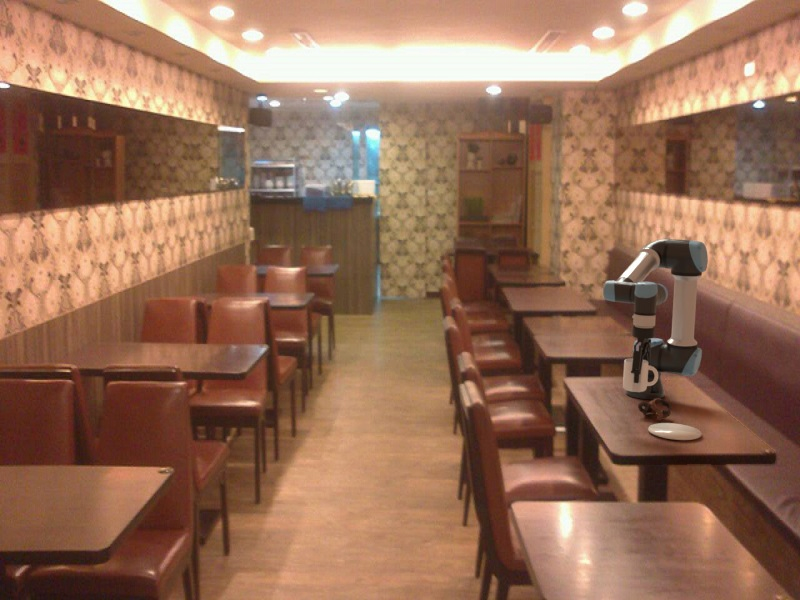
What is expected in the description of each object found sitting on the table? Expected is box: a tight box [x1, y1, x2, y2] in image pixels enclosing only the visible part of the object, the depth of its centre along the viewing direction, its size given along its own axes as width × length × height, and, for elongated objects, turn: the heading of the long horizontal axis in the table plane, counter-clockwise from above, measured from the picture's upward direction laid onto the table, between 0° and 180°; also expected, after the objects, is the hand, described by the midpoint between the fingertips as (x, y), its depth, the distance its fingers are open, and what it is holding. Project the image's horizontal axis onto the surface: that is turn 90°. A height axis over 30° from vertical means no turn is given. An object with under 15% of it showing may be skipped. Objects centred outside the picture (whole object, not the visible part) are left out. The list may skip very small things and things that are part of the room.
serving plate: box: [648, 422, 702, 441], centre depth 328 cm, size 18×18×1 cm
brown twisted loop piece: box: [637, 398, 672, 422], centre depth 347 cm, size 12×10×8 cm
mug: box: [622, 358, 658, 392], centre depth 329 cm, size 12×8×10 cm
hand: (639, 388), depth 329 cm, fingers closed on mug, 8 cm apart
